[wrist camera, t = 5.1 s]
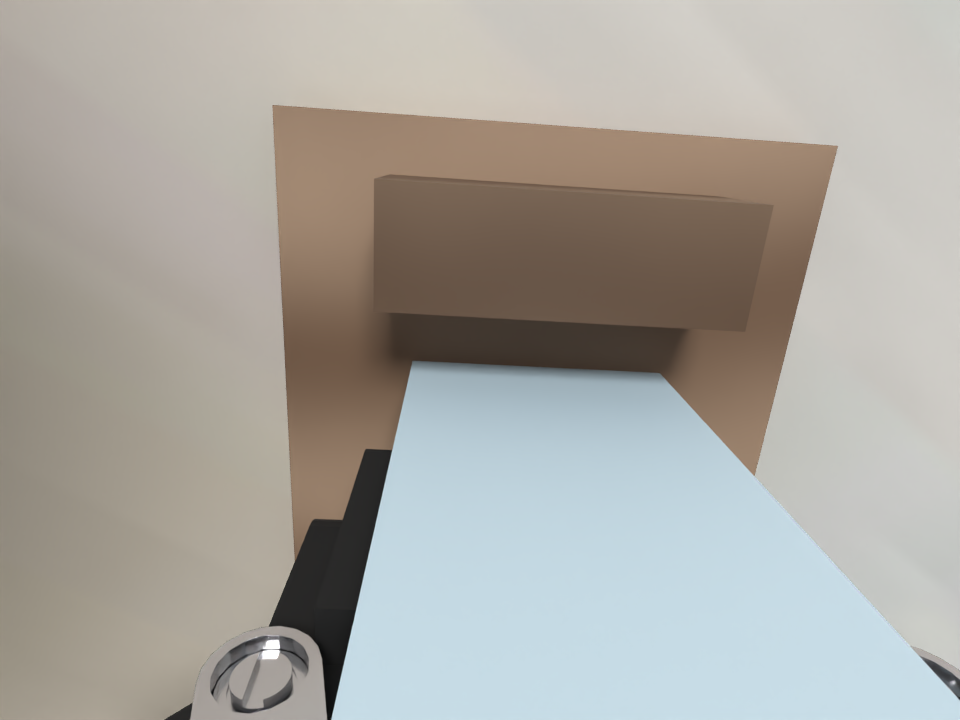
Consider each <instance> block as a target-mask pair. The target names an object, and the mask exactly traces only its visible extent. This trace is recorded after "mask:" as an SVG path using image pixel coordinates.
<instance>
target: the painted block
mask: <svg viewBox="0 0 960 720" xmlns="http://www.w3.org/2000/svg"><path fill="white" fill-rule="evenodd" d="M331 720H960V700H959V699H958V698H957V697H956V696H955V695H954V694H953V692H952V691H951V690H950V689H949V688H948V687H947V686H946V685H945V684H944V683H943V682H942V680H941V679H940V678H939V677H938V676H937V675H936V674H935V673H934V672H933V671H932V670H931V668H930V667H929V666H928V665H927V664H926V663H925V662H924V661H923V660H922V659H921V658H920V656H919V655H918V654H917V653H916V652H915V651H914V650H913V649H912V648H911V647H910V646H909V644H908V643H907V642H906V641H905V640H904V639H903V638H902V637H901V636H900V635H899V634H898V632H897V631H896V630H895V629H894V628H893V627H892V626H891V625H890V624H889V623H888V622H887V620H886V619H885V618H884V617H883V616H882V615H881V614H880V613H879V612H878V611H877V610H876V608H875V607H874V606H873V605H872V604H871V603H870V602H869V601H868V600H867V599H866V598H865V596H864V595H863V594H862V593H861V592H860V591H859V590H858V589H857V588H856V587H855V586H854V584H853V583H852V582H851V581H850V580H849V579H848V578H847V577H846V576H845V575H844V574H843V572H842V571H841V570H840V569H839V568H838V567H837V566H836V565H835V564H834V563H833V562H832V560H831V559H830V558H829V557H828V556H827V555H826V554H825V553H824V552H823V551H822V550H821V548H820V547H819V546H818V545H817V544H816V543H815V542H814V541H813V540H812V539H811V538H810V536H809V535H808V534H807V533H806V532H805V531H804V530H803V529H802V528H801V527H800V526H799V524H798V523H797V522H796V521H795V520H794V519H793V518H792V517H791V516H790V515H789V514H788V512H787V511H786V510H785V509H784V508H783V507H782V506H781V505H780V504H779V503H778V502H777V500H776V499H775V498H774V497H773V496H772V495H771V494H770V493H769V492H768V491H767V490H766V488H765V487H764V486H763V485H762V484H761V483H760V482H759V481H758V480H757V479H756V478H755V476H754V475H753V474H752V473H751V472H750V471H749V470H748V469H747V468H746V467H745V466H744V464H743V463H742V462H741V461H740V460H739V459H738V458H737V457H736V456H735V455H734V454H733V452H732V451H731V450H730V449H729V448H728V447H727V446H726V445H725V444H724V443H723V442H722V440H721V439H720V438H719V437H718V436H717V435H716V434H715V433H714V432H713V431H712V430H711V428H710V427H709V426H708V425H707V424H706V423H705V422H704V421H703V420H702V419H701V418H700V416H699V415H698V414H697V413H696V412H695V411H694V410H693V409H692V408H691V407H690V406H689V404H688V403H687V402H686V401H685V400H684V399H683V398H682V397H681V396H680V395H679V394H678V393H677V391H676V390H675V389H674V388H673V387H672V386H671V385H670V384H669V383H668V382H667V381H666V379H665V378H664V377H663V376H662V375H661V374H660V373H649V372H629V371H609V370H589V369H569V368H549V367H529V366H509V365H489V364H469V363H449V362H428V361H412V366H411V370H410V374H409V379H408V383H407V388H406V392H405V397H404V401H403V405H402V410H401V414H400V419H399V423H398V427H397V432H396V436H395V441H394V445H393V449H392V454H391V458H390V463H389V467H388V472H387V476H386V480H385V485H384V489H383V494H382V498H381V502H380V507H379V511H378V516H377V520H376V525H375V529H374V533H373V538H372V542H371V547H370V551H369V555H368V560H367V564H366V569H365V573H364V577H363V582H362V586H361V591H360V595H359V600H358V604H357V608H356V613H355V617H354V622H353V626H352V630H351V635H350V639H349V644H348V648H347V652H346V657H345V661H344V666H343V670H342V675H341V679H340V683H339V688H338V692H337V697H336V701H335V705H334V710H333V714H332V719H331Z"/></svg>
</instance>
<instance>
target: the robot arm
mask: <svg viewBox="0 0 960 720" xmlns="http://www.w3.org/2000/svg"><path fill="white" fill-rule="evenodd" d="M391 454H392V450H382V449H365V451H364V454H363V458H362V461H361V464H360V467H359V470H358V473H357V476H356V479H355V483H354V486H353V489H352V492H351V495H350V498H349V501H348V504H347V508H346V511H345V514H344V517H343V520H334V519H314V520H312V522H311V524H310V526H309V528H308V531H307V533H306V536H305V538H304V541H303V543H302V546H301V548H300V551H299V553H298V556H297V558H296V561H295V563H294V565H293V568H292V570H291V573H290V575H289V578H288V580H287V583H286V585H285V588H284V590H283V593H282V595H281V598H280V600H279V603H278V605H277V608H276V610H275V613H274V615H273V617H272V620H271V622H270V625H269V627H261V628H258V629H254V630H251V631H247V632H244V633H242V634H240V635H238V636H236V637H234V638H232V639H231V640H229V641H227V642H226V643H224V644H223V645H222V646H221V647H220V648H218V649H217V650H216V651H215V652H213V653H212V654H211V656H210V657H209V658H208V660H207V661H206V663H205V664H204V665H203V667H202V668H201V670H200V673H199V676H198V679H197V682H196V685H195V692H194V698H193V703H192V704H190V705H188V706H187V707H185V708H183V709H182V710H180V711H178V712H177V713H175V714H173V715H172V716H170V717H168V718H167V719H165V720H331V719H332V714H333V710H334V705H335V701H336V697H337V692H338V688H339V683H340V679H341V675H342V670H343V666H344V661H345V657H346V652H347V648H348V644H349V639H350V635H351V630H352V626H353V622H354V617H355V613H356V608H357V604H358V600H359V595H360V591H361V586H362V582H363V577H364V573H365V569H366V564H367V560H368V555H369V551H370V547H371V542H372V538H373V533H374V529H375V525H376V520H377V516H378V511H379V507H380V502H381V498H382V494H383V489H384V485H385V480H386V476H387V472H388V467H389V463H390V458H391ZM910 647H911V648H912V649H913V650H914V651H915V652H916V653H917V654H918V655H919V656H920V658H921V659H922V660H923V661H924V662H925V663H926V664H927V665H928V666H929V667H930V668H931V670H932V671H933V672H934V673H935V674H936V675H937V676H938V677H939V678H940V679H941V680H942V682H943V683H944V684H945V685H946V686H947V687H948V688H949V689H950V690H951V691H952V692H953V694H954V695H955V696H956V697H957V698H958V699H959V700H960V670H958V669H957V668H955V667H954V666H952V665H951V664H949V663H947V662H946V661H944V660H943V659H941V658H939V657H937V656H935V655H932V654H930V653H928V652H926V651H924V650H922V649H919V648H916V647H912V646H910Z"/></svg>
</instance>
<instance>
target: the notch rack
mask: <svg viewBox="0 0 960 720" xmlns="http://www.w3.org/2000/svg"><path fill="white" fill-rule="evenodd" d="M273 125H274V146H275V166H276V186H277V207H278V227H279V247H280V268H281V288H282V308H283V329H284V349H285V369H286V390H287V410H288V430H289V451H290V471H291V491H292V512H293V532H294V552H295V561H296V558H297V556H298V553H299V551H300V548H301V546H302V543H303V541H304V538H305V536H306V533H307V531H308V528H309V526H310V524H311V522H312V520H314V519H334V520H343V517H344V514H345V511H346V508H347V504H348V501H349V498H350V495H351V492H352V489H353V486H354V483H355V479H356V476H357V473H358V470H359V467H360V464H361V461H362V458H363V454H364V451H365V449H382V450H392V449H393V445H394V441H395V436H396V432H397V427H398V423H399V419H400V414H401V410H402V405H403V401H404V397H405V392H406V388H407V383H408V379H409V374H410V370H411V366H412V361H428V362H449V363H469V364H489V365H509V366H529V367H549V368H569V369H589V370H609V371H629V372H649V373H660V374H661V375H662V376H663V377H664V378H665V379H666V381H667V382H668V383H669V384H670V385H671V386H672V387H673V388H674V389H675V390H676V391H677V393H678V394H679V395H680V396H681V397H682V398H683V399H684V400H685V401H686V402H687V403H688V404H689V406H690V407H691V408H692V409H693V410H694V411H695V412H696V413H697V414H698V415H699V416H700V418H701V419H702V420H703V421H704V422H705V423H706V424H707V425H708V426H709V427H710V428H711V430H712V431H713V432H714V433H715V434H716V435H717V436H718V437H719V438H720V439H721V440H722V442H723V443H724V444H725V445H726V446H727V447H728V448H729V449H730V450H731V451H732V452H733V454H734V455H735V456H736V457H737V458H738V459H739V460H740V461H741V462H742V463H743V464H744V466H745V467H746V468H747V469H748V470H749V471H750V472H751V473H752V474H753V475H754V476H755V472H756V468H757V464H758V460H759V456H760V452H761V448H762V444H763V440H764V436H765V432H766V428H767V424H768V420H769V416H770V412H771V408H772V404H773V400H774V397H775V393H776V389H777V385H778V381H779V377H780V373H781V369H782V365H783V361H784V357H785V353H786V349H787V345H788V341H789V337H790V333H791V329H792V325H793V321H794V317H795V313H796V309H797V306H798V302H799V298H800V294H801V290H802V286H803V282H804V278H805V274H806V270H807V266H808V262H809V258H810V254H811V250H812V246H813V242H814V238H815V234H816V230H817V226H818V222H819V219H820V215H821V211H822V207H823V203H824V199H825V195H826V191H827V187H828V183H829V179H830V175H831V171H832V167H833V163H834V159H835V155H836V151H837V147H838V146H832V145H818V144H804V143H790V142H776V141H763V140H749V139H735V138H721V137H707V136H693V135H679V134H666V133H652V132H638V131H624V130H610V129H596V128H583V127H569V126H555V125H541V124H527V123H513V122H499V121H486V120H472V119H458V118H444V117H430V116H416V115H403V114H389V113H375V112H361V111H347V110H333V109H319V108H306V107H292V106H278V105H273Z"/></svg>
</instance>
